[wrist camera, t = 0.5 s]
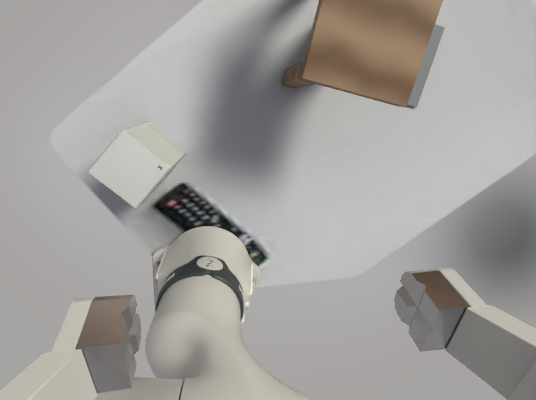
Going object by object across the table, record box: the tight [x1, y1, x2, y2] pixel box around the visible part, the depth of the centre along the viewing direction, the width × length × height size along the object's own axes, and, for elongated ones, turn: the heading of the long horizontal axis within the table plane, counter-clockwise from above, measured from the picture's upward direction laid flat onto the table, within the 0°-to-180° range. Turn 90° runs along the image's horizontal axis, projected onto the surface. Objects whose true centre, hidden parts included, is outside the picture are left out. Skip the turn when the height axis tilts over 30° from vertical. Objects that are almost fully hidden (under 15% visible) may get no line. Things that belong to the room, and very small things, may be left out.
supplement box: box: [88, 122, 186, 209], centre depth 48 cm, size 7×7×13 cm
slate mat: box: [407, 25, 445, 107], centre depth 53 cm, size 12×10×1 cm
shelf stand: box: [282, 0, 443, 107], centre depth 43 cm, size 16×12×18 cm
